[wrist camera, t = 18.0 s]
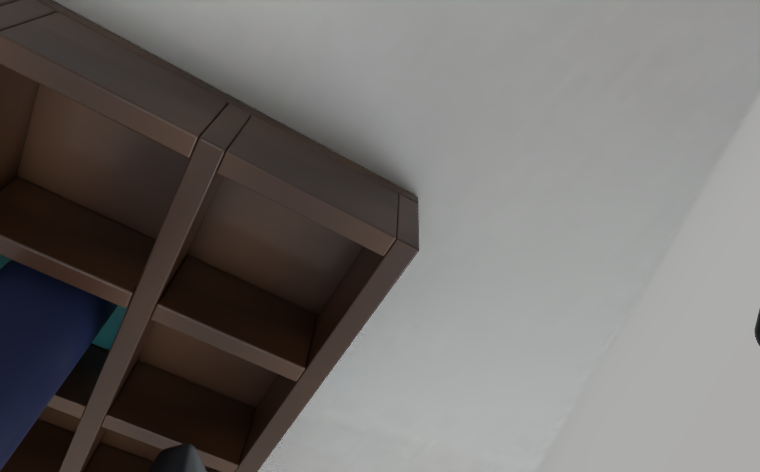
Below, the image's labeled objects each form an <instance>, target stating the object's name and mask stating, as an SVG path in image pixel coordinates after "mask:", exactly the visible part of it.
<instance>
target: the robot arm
mask: <svg viewBox="0 0 760 472" xmlns="http://www.w3.org/2000/svg"><path fill="white" fill-rule="evenodd" d="M755 337H756V340H757V342H758V344H759V345H760V310H759V314H758V318H757V322H756V327H755ZM147 472H207V471H206V469H205V467H204V465H203V463H202V461H201V459H200V456H199V454H198V452H197V450H196V448H195V447H194V446H193V445H192V444H191V443H184V444H181V445H177V446H173V447H169V448H166V449H164V450H162V451H161V452H160V453H159V454H158V456H157V457H156V459H155V460H154V462H153V463H152V465H151V466H150V468H149V470H148V471H147Z"/></svg>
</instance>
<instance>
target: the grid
mask: <svg viewBox="0 0 760 472" xmlns="http://www.w3.org/2000/svg"><path fill="white" fill-rule="evenodd" d="M418 251H419V220H418V197H417V196H415V195H413V194H411V193H409V192H407V191H406V190H404V189H402V188H400V187H398V186H396V185H394V184H393V183H391V182H389V181H387V180H385V179H383V178H381V177H379V176H378V175H376V174H374V173H372V172H370V171H368V170H366V169H365V168H363V167H361V166H359V165H357V164H355V163H353V162H352V161H350V160H348V159H346V158H344V157H342V156H340V155H338V154H337V153H335V152H333V151H331V150H329V149H327V148H325V147H324V146H322V145H320V144H318V143H316V142H314V141H312V140H311V139H309V138H307V137H305V136H303V135H301V134H299V133H298V132H296V131H294V130H292V129H290V128H288V127H286V126H284V125H283V124H281V123H279V122H277V121H275V120H273V119H271V118H270V117H268V116H266V115H264V114H262V113H260V112H258V111H257V110H255V109H253V108H251V107H249V106H247V105H245V104H243V103H242V102H240V101H238V100H236V99H234V98H232V97H230V96H229V95H227V94H225V93H223V92H221V91H219V90H217V89H216V88H214V87H212V86H210V85H208V84H206V83H204V82H202V81H201V80H199V79H197V78H195V77H193V76H191V75H189V74H188V73H186V72H184V71H182V70H180V69H178V68H176V67H175V66H173V65H171V64H169V63H167V62H165V61H163V60H162V59H160V58H158V57H156V56H154V55H152V54H150V53H148V52H147V51H145V50H143V49H141V48H139V47H137V46H135V45H134V44H132V43H130V42H128V41H126V40H124V39H122V38H121V37H119V36H117V35H115V34H113V33H111V32H109V31H107V30H106V29H104V28H102V27H100V26H98V25H96V24H94V23H93V22H91V21H89V20H87V19H85V18H83V17H81V16H80V15H78V14H76V13H74V12H72V11H70V10H68V9H67V8H65V7H63V6H61V5H59V4H57V3H55V2H53V1H52V0H0V269H1V268H2V267H3V266H4V265H6V264H7V263H8V262H9V261H10V260H14V261H16V262H18V263H21V264H23V265H25V266H28V267H30V268H32V269H35V270H37V271H39V272H42V273H44V274H46V275H49V276H51V277H53V278H56V279H58V280H60V281H63V282H65V283H67V284H70V285H72V286H74V287H77V288H79V289H81V290H84V291H86V292H88V293H91V294H93V295H95V296H98V297H100V298H102V299H105V300H107V301H109V302H112V303H114V304H116V305H117V307H116V309H115V311H114V312H113V313H112V315H111V316H110V318H109V319H108V320H107V322H106V323H105V325H104V326H103V327H102V329H101V330H100V332H99V333H98V335H97V336H96V337H95V339H94V340H93V342H92V343H91V344H90V346H89V347H88V349H87V350H86V351H85V353H84V354H83V356H82V357H81V358H80V360H79V361H78V363H77V364H76V365H75V367H74V368H73V370H72V371H71V372H70V374H69V375H68V377H67V378H66V379H65V381H64V382H63V384H62V385H61V387H60V388H59V389H58V391H57V392H56V394H55V395H54V396H53V398H52V399H51V401H50V402H49V403H48V405H47V406H46V408H45V409H44V410H43V412H42V413H41V415H40V416H39V417H38V419H37V420H36V422H35V423H34V424H33V426H32V427H31V429H30V430H29V431H28V433H27V434H26V436H25V437H24V439H23V440H22V441H21V443H20V444H19V446H18V447H17V448H16V450H15V451H14V453H13V454H12V455H11V457H10V458H9V460H8V461H7V462H6V464H5V465H4V467H3V468H2V469H1V471H0V472H147V471H148V470H149V468H150V466H151V465H152V463H153V462H154V460H155V459H156V457H157V456H158V454H159V453H160V452H161V451H162V450H164V449H166V448H169V447H173V446H177V445H181V444H184V443H191V444H192V445H193V446H194V447H195V448H196V450H197V452H198V454H199V456H200V459H201V461H202V463H203V465H204V467H205V469H206V471H207V472H257V471H258V470H259V469H260V467H261V466H262V464H263V463H264V462H265V460H266V459H267V458H268V456H269V455H270V454H271V452H272V451H273V449H274V448H275V447H276V445H277V444H278V443H279V441H280V440H281V438H282V437H283V436H284V434H285V433H286V432H287V430H288V429H289V428H290V426H291V425H292V423H293V422H294V421H295V419H296V418H297V417H298V415H299V414H300V412H301V411H302V410H303V408H304V407H305V406H306V404H307V403H308V402H309V400H310V399H311V397H312V396H313V395H314V393H315V392H316V391H317V389H318V388H319V386H320V385H321V384H322V382H323V381H324V380H325V378H326V377H327V376H328V374H329V373H330V371H331V370H332V369H333V367H334V366H335V365H336V363H337V362H338V360H339V359H340V358H341V356H342V355H343V354H344V352H345V351H346V350H347V348H348V347H349V345H350V344H351V343H352V341H353V340H354V339H355V337H356V336H357V334H358V333H359V332H360V330H361V329H362V328H363V326H364V325H365V324H366V322H367V321H368V319H369V318H370V317H371V315H372V314H373V313H374V311H375V310H376V309H377V307H378V306H379V304H380V303H381V302H382V300H383V299H384V298H385V296H386V295H387V293H388V292H389V291H390V289H391V288H392V287H393V285H394V284H395V283H396V281H397V280H398V278H399V277H400V276H401V274H402V273H403V272H404V270H405V269H406V267H407V266H408V265H409V263H410V262H411V261H412V259H413V258H414V257H415V255H416V254H417V252H418Z"/></svg>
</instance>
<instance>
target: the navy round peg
mask: <svg viewBox="0 0 760 472" xmlns="http://www.w3.org/2000/svg"><path fill="white" fill-rule="evenodd" d="M116 307H117V305H116V304H114V303H112V302H109V301H107V300H105V299H102V298H100V297H98V296H95V295H93V294H91V293H88V292H86V291H84V290H81V289H79V288H77V287H74V286H72V285H70V284H67V283H65V282H63V281H60V280H58V279H56V278H53V277H51V276H49V275H46V274H44V273H42V272H39V271H37V270H35V269H32V268H30V267H28V266H25V265H23V264H21V263H18V262H16V261H14V260H10V261H9V262H8V263H7V264H6V265H4V266H3V267H2V268H1V269H0V471H1V469H2V468H3V467H4V465H5V464H6V462H7V461H8V460H9V458H10V457H11V455H12V454H13V453H14V451H15V450H16V448H17V447H18V446H19V444H20V443H21V441H22V440H23V439H24V437H25V436H26V434H27V433H28V431H29V430H30V429H31V427H32V426H33V424H34V423H35V422H36V420H37V419H38V417H39V416H40V415H41V413H42V412H43V410H44V409H45V408H46V406H47V405H48V403H49V402H50V401H51V399H52V398H53V396H54V395H55V394H56V392H57V391H58V389H59V388H60V387H61V385H62V384H63V382H64V381H65V379H66V378H67V377H68V375H69V374H70V372H71V371H72V370H73V368H74V367H75V365H76V364H77V363H78V361H79V360H80V358H81V357H82V356H83V354H84V353H85V351H86V350H87V349H88V347H89V346H90V344H91V343H92V342H93V340H94V339H95V337H96V336H97V335H98V333H99V332H100V330H101V329H102V327H103V326H104V325H105V323H106V322H107V320H108V319H109V318H110V316H111V315H112V313H113V312H114V311H115V309H116Z"/></svg>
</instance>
